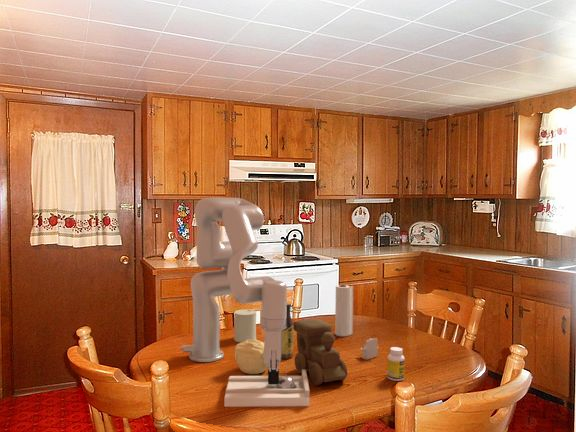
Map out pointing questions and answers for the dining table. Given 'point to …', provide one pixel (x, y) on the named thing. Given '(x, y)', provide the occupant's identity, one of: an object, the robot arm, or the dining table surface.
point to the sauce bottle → (287, 336)
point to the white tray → (265, 392)
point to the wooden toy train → (318, 352)
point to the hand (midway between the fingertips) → (273, 383)
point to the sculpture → (251, 356)
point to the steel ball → (286, 383)
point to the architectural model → (370, 349)
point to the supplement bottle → (396, 364)
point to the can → (245, 325)
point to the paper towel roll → (344, 310)
